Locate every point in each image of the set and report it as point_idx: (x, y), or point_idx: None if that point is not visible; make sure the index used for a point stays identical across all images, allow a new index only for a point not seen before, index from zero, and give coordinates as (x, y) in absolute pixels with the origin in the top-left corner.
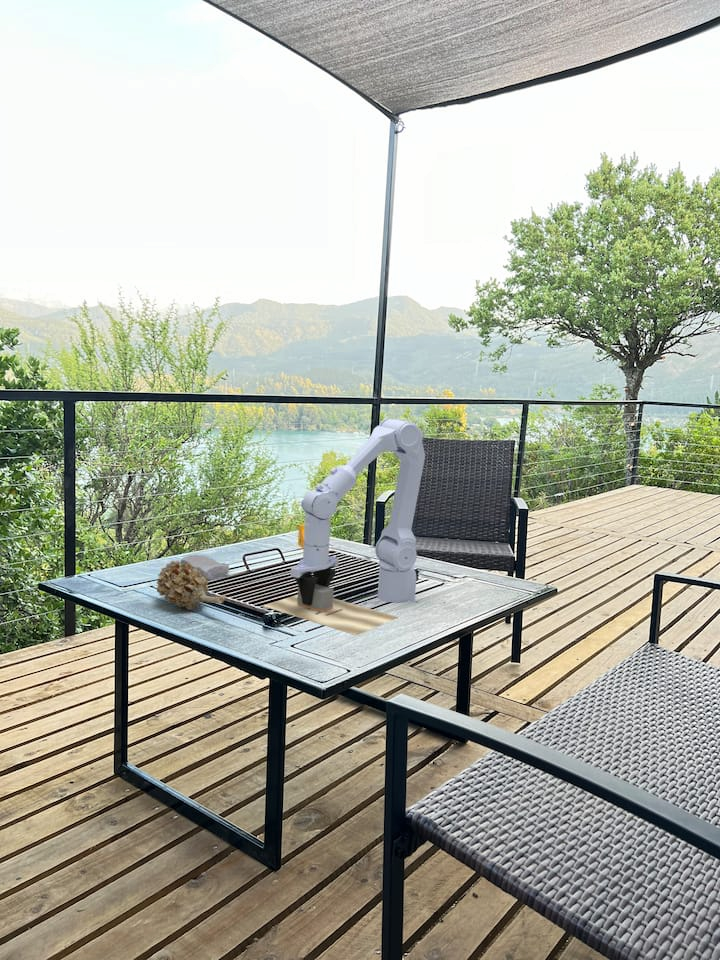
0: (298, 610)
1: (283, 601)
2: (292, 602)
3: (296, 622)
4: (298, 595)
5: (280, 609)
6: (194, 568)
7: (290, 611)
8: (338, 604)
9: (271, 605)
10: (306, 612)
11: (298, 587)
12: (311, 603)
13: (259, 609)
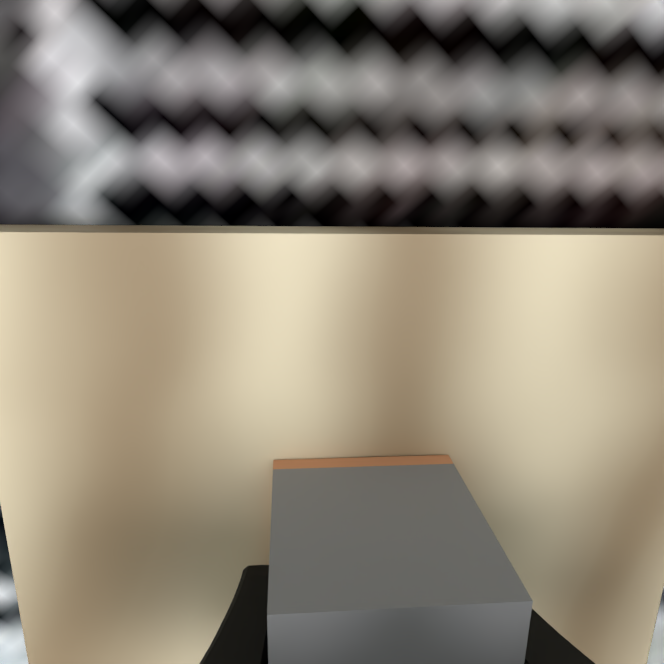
0: (159, 563)
1: (252, 290)
2: (300, 376)
3: None
4: (271, 531)
5: (37, 439)
6: None
7: (76, 538)
8: None
9: (45, 292)
10: (176, 635)
11: (269, 598)
12: None
13: (28, 134)
